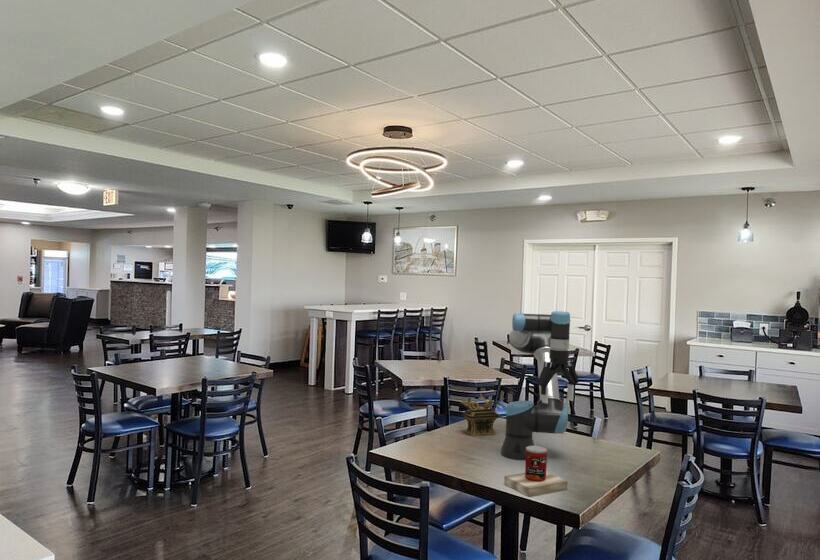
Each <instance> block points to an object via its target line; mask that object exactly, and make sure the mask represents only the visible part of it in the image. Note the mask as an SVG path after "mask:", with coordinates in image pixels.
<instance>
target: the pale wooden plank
mask: <svg viewBox="0 0 820 560" xmlns="http://www.w3.org/2000/svg"><path fill="white" fill-rule="evenodd" d="M503 480H504V481H503V484H504V485H505V486H507V487H510V489H513V490H514V491H517V492H519V493H522V494H523V495H525V496H527V497H529V498H532V497H537V496H541V495H547V494H552V493H556V492H561V491H565V490H568V480H565V479H563V478H562V477H558V476H556V475H553V474H552V473H549V472H547V471H546V479H545V480H544V481H540V482H536V481H530V480H528V479H526V477H525V472H521V473H515V474H510V475H504V479H503Z"/></svg>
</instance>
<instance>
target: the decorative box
mask: <svg viewBox="0 0 820 560" xmlns="http://www.w3.org/2000/svg"><path fill="white" fill-rule="evenodd" d="M482 394H483V393H480V394H479V395H480V398H481V399H482V400H483V402H484V405H483V406H480V405H479V403H478V402H477V401H471V397H470V396H468V399H467V400H466V401H465V400H464V401H463V400H461V401H460V403H461V404H463V405H464V406H465V407H468V408H469V409H466V410H465V411H463V412H462V416H463V417H464V418H465V420H466V421H467V428H466V430H465V433H466V434H468V435H470V436H471V437H481V436H494V435H495V434H496V431H495V430H494V423H495V421H496V420H497V419H498V418H499V417H500V414H499V412H496V410H494V408H493V406H492V403H493V399H492V398H489V399H488V401H487V400H486V399H485V398H484V397H483V396H482Z"/></svg>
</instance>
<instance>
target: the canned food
mask: <svg viewBox="0 0 820 560" xmlns="http://www.w3.org/2000/svg"><path fill="white" fill-rule="evenodd" d="M524 461H525V465H524V466H525V467H524V473H525V477H526V479H528V480H530V481H536V482H540V481H544V480H545V479H546V472H547V463H548V449H547V448H546V447H544V446H542V445H539V446H538V445H534V446H528V447H526V459H525V460H524Z"/></svg>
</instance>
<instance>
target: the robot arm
mask: <svg viewBox="0 0 820 560" xmlns="http://www.w3.org/2000/svg"><path fill="white" fill-rule="evenodd" d="M511 321H512V322H511V323H512V324H511V325H512V327H511V328H512V330H511V331H510V332H509V335H508V341H509V344H510V345H511V346H512V348H513V349H515V350H516V351H519V352H521V353H524V354H533V357H534V359H535V360H537V361H536V362H537V374H538V380H537V382H536V384H537V385H538V388H539V400H538V401H537V402H536V405H535V403H534V402H533V401H532V400H531V401H530V400H517V401H512V402H509V403H508V404H507V405H506V412H505V416H506V418H505V419H506V420H505V421H506V422H505V436H504V441H503V443H502V446H501V449H500V455H502V456H503V457H504V458H508V459H513V460H518V461H519V460H520V461H525V459H526V447H528V446H535V443H534V439H533V433H540V434H554V435H556V434H564V433H565V432H566V431H567V427H568V420H569V408H568V407H567V406H564V402H563V400H561V399H560V392H559V382H558V381H559V380H558V374H559V373H562V374H563V376H564V377H565V379H566V381H567V382H568V383H567V393H566V400H567V401H571V402H574V393H575V388H576V387H575V386H577V385H578V384H579V383H580V381H579V377H578V375H577V371H576V369H575V366H574V365H575V363H574V360H569V359H570V351H569V349H570V331H571V330H570V328H571V314H570V312H568V311H560V310H559V311H557V310H556V311H555V310H553V311H552V312H551V313H550V314H543V313H542V314H541V313H540V314H539V313H538V314H535V313H534V314H533V313H523V312H521V313H514V314H512V320H511Z"/></svg>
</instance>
